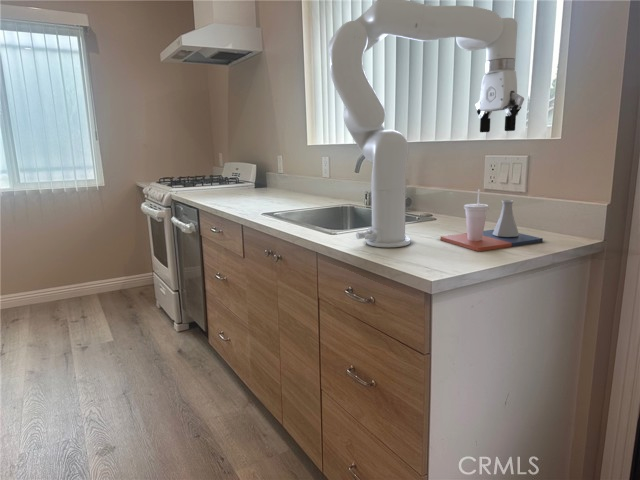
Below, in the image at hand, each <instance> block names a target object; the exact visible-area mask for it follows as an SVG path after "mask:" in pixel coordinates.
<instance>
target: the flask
mask: <svg viewBox="0 0 640 480" xmlns="http://www.w3.org/2000/svg"><path fill="white" fill-rule="evenodd" d="M500 203H501V211H500V215H499V217H498V219H497V223H496V225H495V227H494V229H493V230H494V231H493V235H495V236H501V237H516V236H518V235H519V233H520V232H519V229H518V227H517V223H516V220H515V216H514V213H513V204H514V200H512V199H502V200H501V201H500Z"/></svg>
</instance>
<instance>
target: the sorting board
mask: <svg viewBox="0 0 640 480" xmlns="http://www.w3.org/2000/svg"><path fill="white" fill-rule="evenodd" d="M493 231H494V229H488V230H484V231H483V236H482V240H481V241H470V240H468V235H467V232H465V233H456V234H449V235H441V236H440V241H443V242H446V243H449V244H452V245H456V246H460V247H462V248H466V249H468V250H472V251H476V252H485V251H493V250H499V249H504V248H511V247H518V246H524V245H532V244H537V243H543V241H544V238H543V237H539V236H534V235H529V234H525V233H521V232H518V233H519V235H518V236H516V237H501V236H495V235H493Z"/></svg>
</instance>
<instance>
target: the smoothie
mask: <svg viewBox="0 0 640 480" xmlns="http://www.w3.org/2000/svg"><path fill="white" fill-rule="evenodd" d="M476 201H477V202H476V203H466V204H464V205H463V209H464V210H465V211H464V212H465V222H466V233H467V235H468V240H470V241H481V240H482V236H483V231H485V225H486V220H487V219H486V218H487V215H488V210H489V205H488V204H485V203H480V202H481V189H479V188H478V189H477V200H476Z"/></svg>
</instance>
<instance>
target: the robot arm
mask: <svg viewBox="0 0 640 480" xmlns="http://www.w3.org/2000/svg"><path fill="white" fill-rule="evenodd" d="M387 36H393V37H399V38H404V39H409V40H414V41H419V42H432V41H438V40H442V39H448V38H449V39H451V38H455V41H456V44H457V46H458V47H459V48H460V49H462V50H463V51H467V52H472V51H473V52H474V51H479V50H486V52H485V53H486V55H485V56H486V57H485V68H484V71H485V74H484V75H483V77H482V80H481V86H480V92H479V100H478V101H477V102H476V103H475V109H476V113H477V115H478V119H479V121H480V122H479V133H489V132H490V131H491V117H490V116H491V114H492V113H493V112H497V111H504V112H505V114H506V115H505V117H504V131H505V132H515V131H516V123H517V116H518V115H519V112H520V111H521V109H522V106H523V104H524V101H525V97H523V96H522V95H520V94H518V78H517V72H516V55H517V54H516V53H517V40H518V39H517V38H518V21H517V19H515V18H513V17H501V16H500V14H499V13H498V12H496V11H493V10H491V9H488V8H483V7H478V6H474V5H473V6H472V5H431V4H427V3H426V4H425V3H420V2H415V1H410V0H375V2H374V3H372V4H371V6H370V7H368V8H367V10H366V11H365V12H364V13H362V14H361V15H359V17H358V18H356V19H354V20H350V21H347V22H345V23H343V24H342V25H341V26H339V28H338V29H337V30H336V32H335V33H334V34H333V35H332V36H331V38H330V40H329V42H328V54H329V73H330V78H331V81H332V84H333V86H334V88H335V91H336V92H337V94H338V95H339V96H338V97H339V98H340V100H341V102H342V103H343V105H344V106H345V108H344V111H343V121H344V124H345V127H346V129H347V131H348V132H349V134H350V136H351V137H352V139H353V140H354V142H355V144H356V145H357V147H358V149H359V150H360V152H361V154H362V155H363V157H364V158H365V159H366V160H367V161H368V162H370V163H372V166H371V167H372V168H371V177H370V188H371V189H370V190H371V191H370V193H371V195H370V196H371V226H370V227H368V229H367V230H366V231H358V232H356V233H355V237H356V239H357V240H362V239H364V240H366V244H367V245H369V246H372V247H377V248H400V247H407V246H408V245H410V244H411V243H412V240H411V239H412V238H410V237H409V236H407V235H406V192H407V191H406V189H407V188H406V186H407V185H406V181H407V166H408V159H409V143H408V141H407V139H406V137H405V135H404V134H402V132H399V131H397V130H394V129H386V128H385V127H384V125H383V124H384V122H385V120H386V109H385V106H384V104H383V103H382V101H381V99H380V98H379V96H378V94H377V93H376V90H375V89H374V87H373V86H372V84H371V82H370V81H369V78H368V76H367V74H366V72H365V68H364V64H363V59H364V54H365V53H366V52H367V51H369V50H370V49H371V48H373V47H374V46H375V45H377V44H378V43H379V42H381V41H382V40H383V39H384V38H386V37H387Z"/></svg>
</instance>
